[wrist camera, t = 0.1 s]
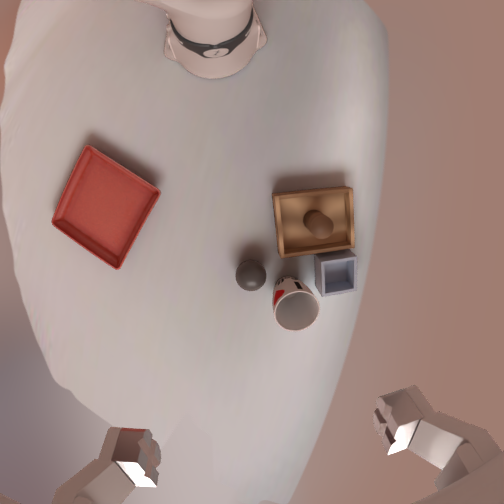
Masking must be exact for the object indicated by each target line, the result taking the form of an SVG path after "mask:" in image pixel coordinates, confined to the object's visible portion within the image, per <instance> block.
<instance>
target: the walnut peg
mask: <svg viewBox="0 0 504 504" xmlns="http://www.w3.org/2000/svg"><path fill="white" fill-rule="evenodd" d="M303 223H304V226H305V227H306V228H307V229H308V230H309V231H310V232H311V233H312V234H313V235H314V236H315V237H317V238H319V239H325V238H327V237H329V236H330V235H331V234H332V232H333V229H334V224H333V222H332V220H331V219H330V218H329V217H327V216H326V215H324V214H323V213H321V212H320V211H318V210H310V211H308V212H307V213H306V214H305V215H304V218H303Z"/></svg>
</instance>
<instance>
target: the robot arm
mask: <svg viewBox="0 0 504 504" xmlns="http://www.w3.org/2000/svg"><path fill="white" fill-rule="evenodd" d="M135 1H139V2H143V3H147V4H150V5H153V6H156V7H158V8H160V9H162V10H164V11H166V13H167V19H169V25H167V36H166V43H165V49H164V54H165V56H166V57H167V58H169V59H171V60H174V61H177V62H179V63H180V64H181V65H182V66H183V67H184V68H185V69H186V70H187V71H189V72H190V73H192V74H194V75H196V76H199V77H203V78H210V79H216V78H223V77H227V76H230V75H233V74H235V73H237V72H238V71H240V70H241V69H242V68H244V67H245V66H246V65H247V64H248V62H249V61H250V59H251V58H252V56H253V54H254V53H255V52H256V51H257V50H259V49H260V48H262V47H263V46H264V45H265V44H266V42H267V38H266V35H265V33H264V30H263V28H262V25H261V23H260V21H259V18H258V16H257V14H256V11H255V9H254V7H253V5H252V4H253V0H135ZM376 405H377V407H378V408H377V409H376V410H375V411H374V415H373V422H374V426H375V429H376V432H377V434H380V435H381V436H383V439H382V444H383V446H384V448H385V450H386V452H387V454H388V455H389V454H392V453H395V452H398V451H400V450H403V449H406V448H408V449H409V450H411V451H412V452H414V453H415V454H417V455H419V456H420V457H422V458H423V459H425V460H427V461H428V462H430V463H432V464H433V465H435V466H437V467H438V468H440V469H442V471H441V472H440V474H439V475H438V476H437V478H436V479H435V481H434V483H435V485H436V487H437V489H438V492H435V493H433V494H431V495H429V496H427V497H425V498H423V499H421V500H419V501H416V502H414V503H412V504H504V451H503V452H502V451H501V449H500V448H499V446H498V445H497V444H496V442H495V441H494V440H493V438H492V437H491V435H490V434H489V433H488V431H487V430H485V429H482V428H480V427H477V426H475V425H472V424H469V423H467V422H464V421H462V420H459V419H457V418H454V417H452V416H449V415H447V414H444V413H442V412H440V411H439V412H435V411H434V409H433V408H432V406H431V405H430V403H429V402H428V401H427V399H426V398H425V396H424V395H423V394H422V392H421V391H420V390H419V388H418V387H417V386H416V385H413V386H410V387H408V388H405V389H401V390H398V391H395V392H392V393H389V394H386V395H383V396H380V397H378V399H377V402H376ZM160 461H161V451H160V447H159V445H158V443H157V442H156V441H155V440H153V439H152V433H151V432H150V430H149V429H133V428H120V427H110V428H109V429H108V432H107V435H106V438H105V441H104V443H103V446H102V449H101V453H100V455H99V459H94V460H93V461H92V462H91V463H89V464H88V465H87V466H86V467H85V468H83V469H82V470H81V471H79V472H78V473H77V474H76V475H74V476H73V477H72V478H70V479H69V480H68V481H67V482H65V483H64V484H63V485H61V486H60V487H59V488H58V489H57V490H56V492H55V495H54V498H53V501H52V504H121V503H122V502H123V501H124V500H125V499H126V498H127V496H128V495H129V494H130V493H131V492H132V491H133V490H134V488H135V487H136V486H149V487H157V481H158V475H159V473H158V471H157V470H156V467H157V466H158V465H159V464H160ZM0 504H21V503H19V502H17V501H15V500H13V499H11V498H9V497H7V496H5V495H3V494H1V493H0Z"/></svg>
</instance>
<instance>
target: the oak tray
mask: <svg viewBox="0 0 504 504" xmlns="http://www.w3.org/2000/svg"><path fill="white" fill-rule="evenodd" d="M272 199H273V208H274V217H275V227H276V237H277V247H278V253H279V255H280V257H281V258H288V257H295V256H302V255H309V254H316V253H323V252H330V251H337V250H344V249H350V248H355V245H354V209H353V189H352V188H350V187H346V186H342V187H331V188H320V189H310V190H301V191H291V192H283V193H274V194H272ZM310 210H318V211H320V212H321V213H323V214H324V215H326V216H327V217H329V218H330V219H331V220H332V222H333V224H334V229H333V232H332V234H331V235H330V236H329V237H327V238H325V239H319V238H317V237H315V236H314V235H313V234H312V233H311V232H310V231H309V230H308V229H307V228H306V227H305V226H304V223H303V218H304V215H305V214H306V213H307V212H308V211H310Z"/></svg>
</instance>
